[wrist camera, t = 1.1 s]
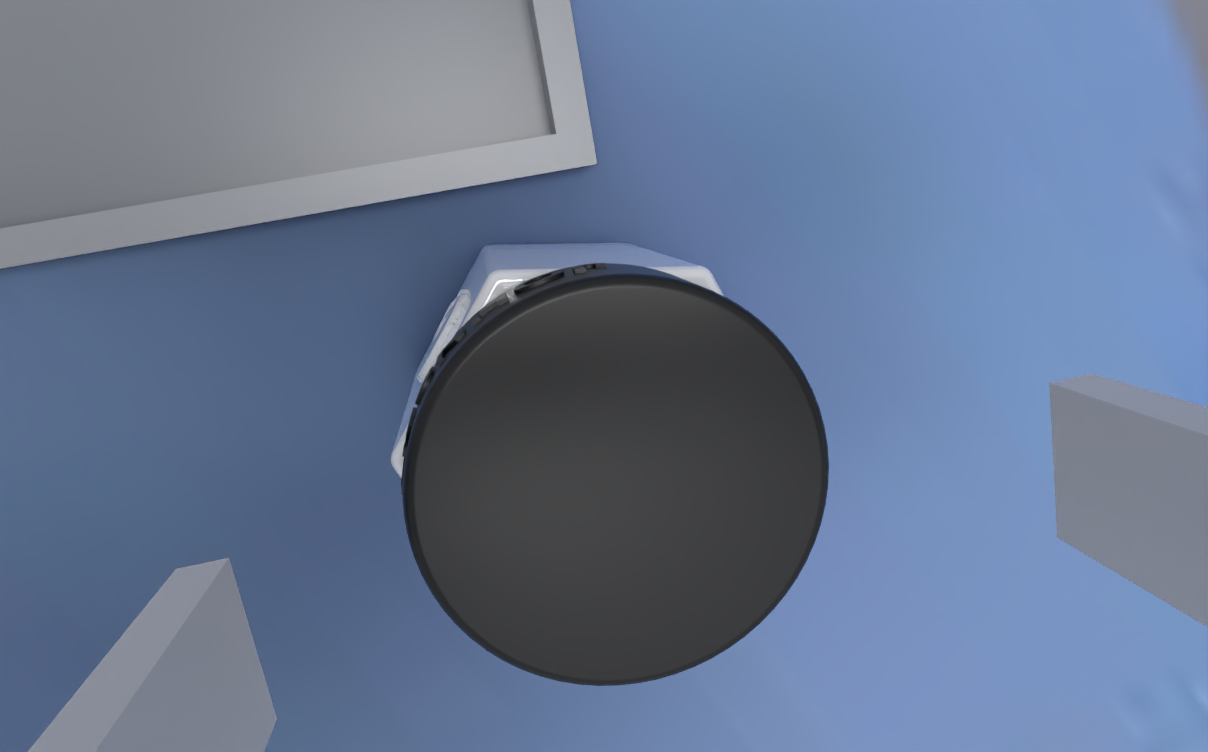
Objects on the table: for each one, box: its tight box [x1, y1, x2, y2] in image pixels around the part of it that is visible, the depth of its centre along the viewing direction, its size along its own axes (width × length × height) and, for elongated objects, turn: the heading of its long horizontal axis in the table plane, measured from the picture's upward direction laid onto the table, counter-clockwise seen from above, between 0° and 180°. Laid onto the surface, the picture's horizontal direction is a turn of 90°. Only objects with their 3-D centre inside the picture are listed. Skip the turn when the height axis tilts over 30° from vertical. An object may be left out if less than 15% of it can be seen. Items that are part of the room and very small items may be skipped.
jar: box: [391, 243, 829, 686], centre depth 22 cm, size 9×8×12 cm
